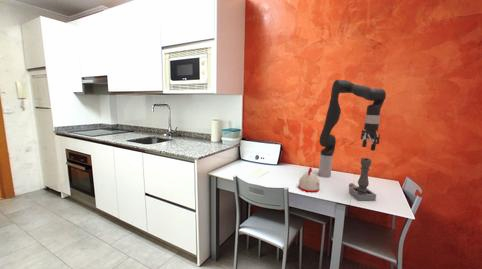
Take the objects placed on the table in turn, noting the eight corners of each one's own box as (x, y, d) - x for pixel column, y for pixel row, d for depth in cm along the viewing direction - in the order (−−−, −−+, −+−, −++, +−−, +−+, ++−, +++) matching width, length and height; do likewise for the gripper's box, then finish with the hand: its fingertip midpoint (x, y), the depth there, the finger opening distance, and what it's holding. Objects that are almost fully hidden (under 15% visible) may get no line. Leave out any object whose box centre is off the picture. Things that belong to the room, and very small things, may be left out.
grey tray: (343, 189, 155) (344, 182, 154) (358, 189, 155) (359, 182, 154) (358, 201, 137) (359, 194, 136) (375, 201, 138) (376, 194, 137)
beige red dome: (296, 189, 151) (297, 168, 148) (300, 182, 163) (302, 163, 160) (317, 194, 145) (319, 172, 142) (320, 187, 157) (322, 166, 154)
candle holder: (369, 199, 140) (374, 160, 135) (359, 198, 140) (364, 160, 135) (363, 194, 146) (368, 157, 141) (354, 194, 146) (358, 157, 141)
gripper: (386, 124, 127) (381, 151, 130) (370, 121, 141) (367, 146, 144) (373, 124, 126) (369, 151, 129) (359, 120, 140) (355, 145, 143)
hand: (368, 148), depth 137 cm, fingers open, 8 cm apart
